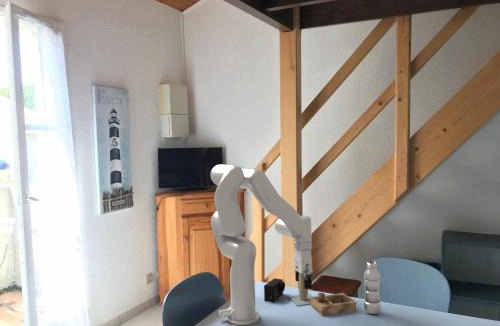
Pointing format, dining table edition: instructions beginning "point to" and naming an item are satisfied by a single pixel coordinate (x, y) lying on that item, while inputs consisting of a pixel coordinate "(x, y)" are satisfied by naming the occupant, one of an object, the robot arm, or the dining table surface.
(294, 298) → the mat
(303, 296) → the handle
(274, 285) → the digital camera
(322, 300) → the body
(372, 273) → the plastic bottle
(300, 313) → the dining table surface
